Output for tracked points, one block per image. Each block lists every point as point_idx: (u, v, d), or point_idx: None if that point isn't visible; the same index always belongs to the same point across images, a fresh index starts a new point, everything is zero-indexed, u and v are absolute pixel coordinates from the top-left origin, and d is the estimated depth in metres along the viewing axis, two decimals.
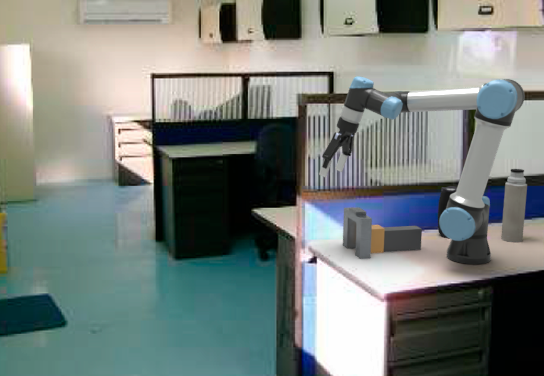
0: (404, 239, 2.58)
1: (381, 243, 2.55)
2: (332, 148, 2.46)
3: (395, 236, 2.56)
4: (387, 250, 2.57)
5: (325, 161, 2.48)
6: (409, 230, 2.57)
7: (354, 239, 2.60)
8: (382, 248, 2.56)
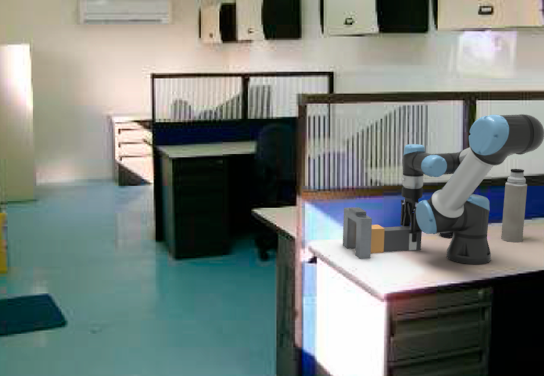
0: (404, 239, 2.58)
1: (381, 242, 2.55)
2: None
3: (395, 236, 2.56)
4: (387, 250, 2.57)
5: (414, 235, 2.56)
6: (409, 230, 2.57)
7: (354, 239, 2.60)
8: (382, 248, 2.56)
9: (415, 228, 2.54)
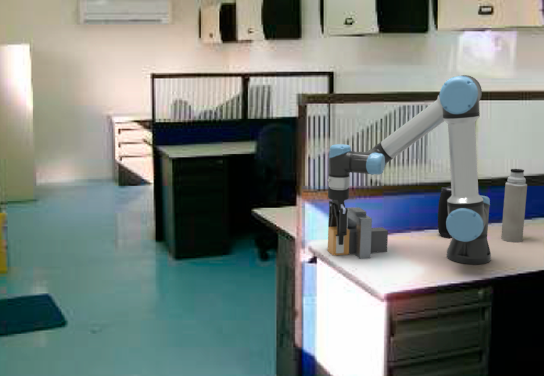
0: None
1: (346, 244, 2.52)
2: (345, 223, 2.47)
3: None
4: (352, 252, 2.54)
5: (341, 238, 2.49)
6: (375, 232, 2.54)
7: None
8: (347, 250, 2.52)
9: (341, 230, 2.47)
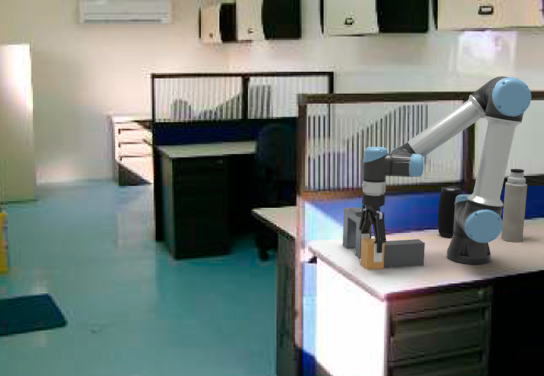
0: (406, 254, 2.39)
1: None
2: (383, 229, 2.29)
3: (395, 250, 2.38)
4: (387, 266, 2.38)
5: (379, 245, 2.30)
6: (411, 244, 2.39)
7: (354, 239, 2.60)
8: (382, 264, 2.37)
9: (379, 237, 2.28)
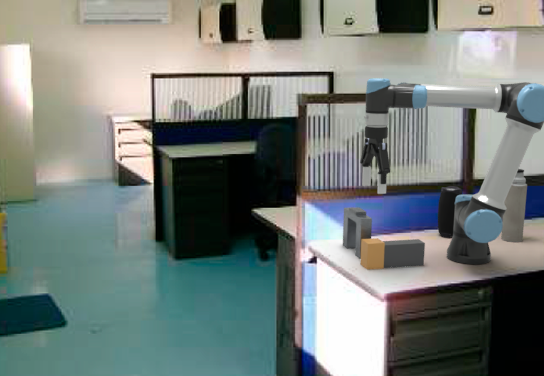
0: (406, 254, 2.39)
1: (381, 258, 2.36)
2: (387, 159, 2.24)
3: (395, 250, 2.38)
4: (387, 266, 2.38)
5: (383, 176, 2.25)
6: (411, 244, 2.39)
7: (354, 239, 2.60)
8: (382, 264, 2.37)
9: (383, 167, 2.23)
